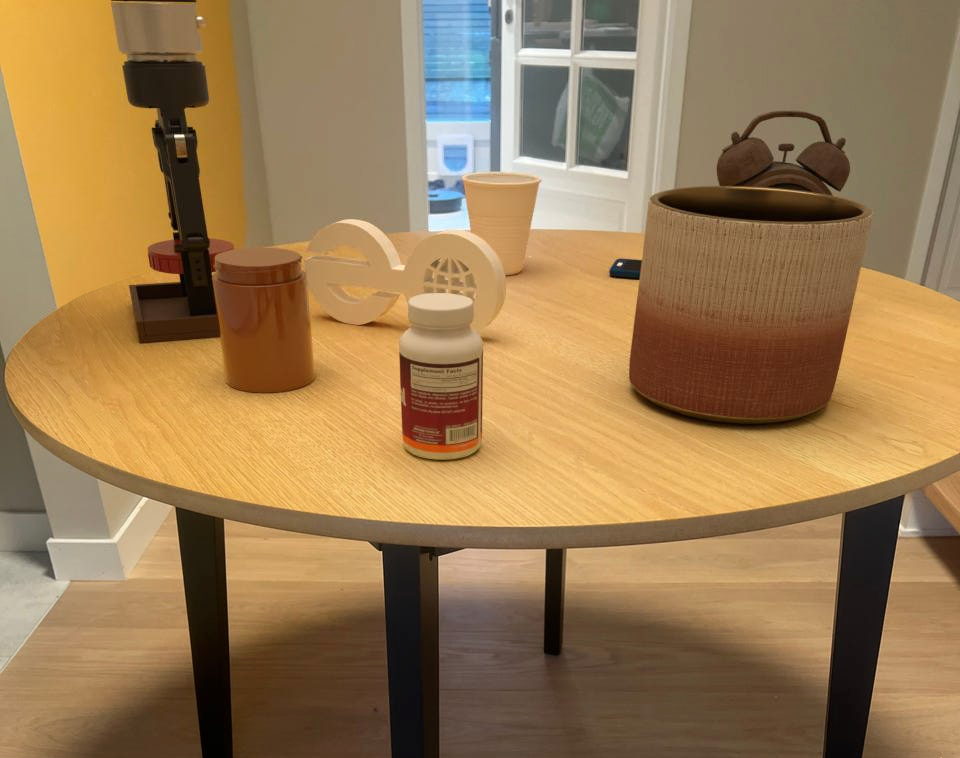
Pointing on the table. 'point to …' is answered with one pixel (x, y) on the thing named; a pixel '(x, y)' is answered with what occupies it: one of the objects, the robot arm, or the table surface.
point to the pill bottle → (441, 378)
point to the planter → (745, 300)
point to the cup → (502, 212)
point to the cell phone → (626, 268)
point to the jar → (263, 319)
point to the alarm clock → (756, 167)
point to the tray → (168, 314)
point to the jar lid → (171, 262)
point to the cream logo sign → (402, 272)
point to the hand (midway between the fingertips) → (199, 305)
